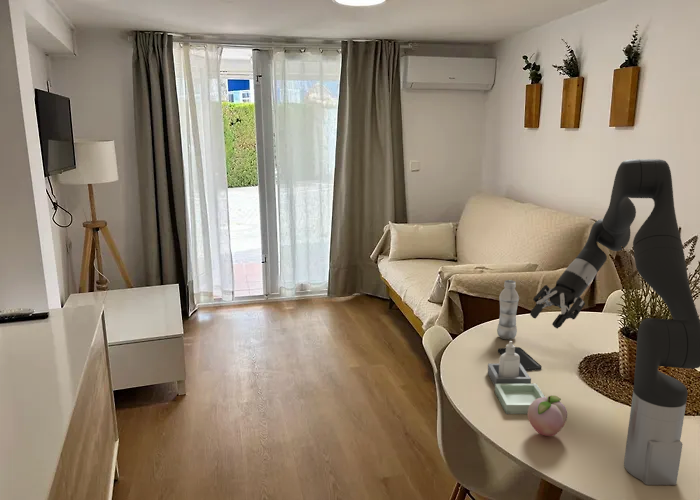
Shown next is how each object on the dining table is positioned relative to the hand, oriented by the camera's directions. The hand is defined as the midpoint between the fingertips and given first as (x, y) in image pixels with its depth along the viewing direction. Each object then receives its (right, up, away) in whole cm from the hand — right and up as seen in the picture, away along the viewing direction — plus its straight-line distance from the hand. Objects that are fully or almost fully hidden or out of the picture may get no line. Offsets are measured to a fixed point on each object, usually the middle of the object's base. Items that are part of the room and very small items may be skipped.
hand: (543, 321), depth 147 cm
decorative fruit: (-10, -23, -27) cm, 36 cm away
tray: (-10, -19, -12) cm, 25 cm away
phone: (-3, -14, +12) cm, 19 cm away
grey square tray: (-10, -17, -1) cm, 20 cm away
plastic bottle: (-2, -10, +29) cm, 30 cm away
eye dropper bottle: (-10, -17, -1) cm, 20 cm away
